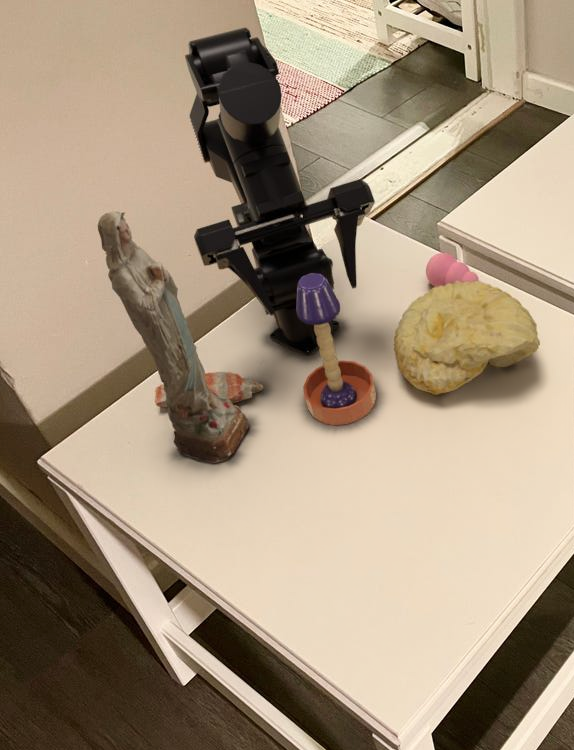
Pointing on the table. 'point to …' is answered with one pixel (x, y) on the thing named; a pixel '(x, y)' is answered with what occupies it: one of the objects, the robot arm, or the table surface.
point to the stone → (221, 387)
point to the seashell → (461, 335)
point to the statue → (170, 347)
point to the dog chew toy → (448, 271)
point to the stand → (344, 415)
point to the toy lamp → (324, 335)
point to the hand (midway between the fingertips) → (313, 301)
